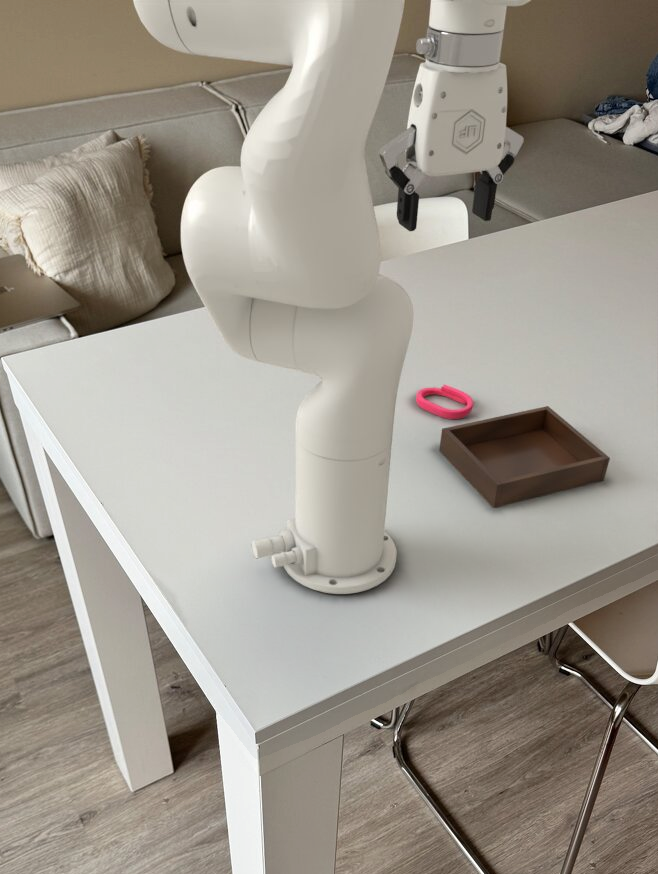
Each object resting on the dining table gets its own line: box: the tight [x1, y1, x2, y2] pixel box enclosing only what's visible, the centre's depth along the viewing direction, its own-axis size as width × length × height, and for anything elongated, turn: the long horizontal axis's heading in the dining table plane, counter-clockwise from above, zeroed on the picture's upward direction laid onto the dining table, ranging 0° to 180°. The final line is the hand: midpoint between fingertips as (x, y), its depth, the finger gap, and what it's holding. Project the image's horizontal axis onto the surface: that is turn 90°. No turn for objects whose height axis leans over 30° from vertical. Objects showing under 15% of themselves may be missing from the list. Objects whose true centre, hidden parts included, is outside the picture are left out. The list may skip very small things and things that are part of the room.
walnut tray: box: [438, 405, 611, 509], centre depth 111 cm, size 16×13×3 cm
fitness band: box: [415, 384, 474, 420], centre depth 122 cm, size 8×6×2 cm
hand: (444, 222), depth 102 cm, fingers open, 9 cm apart
